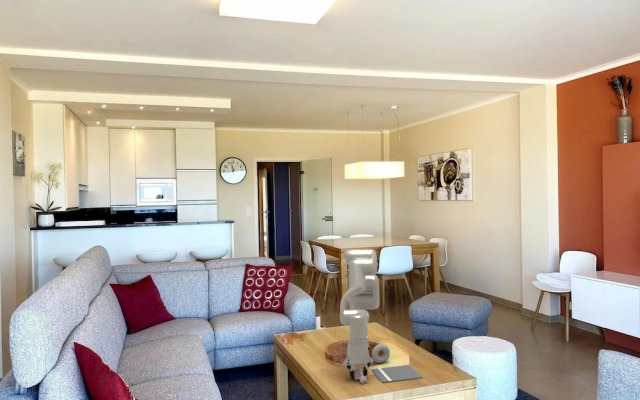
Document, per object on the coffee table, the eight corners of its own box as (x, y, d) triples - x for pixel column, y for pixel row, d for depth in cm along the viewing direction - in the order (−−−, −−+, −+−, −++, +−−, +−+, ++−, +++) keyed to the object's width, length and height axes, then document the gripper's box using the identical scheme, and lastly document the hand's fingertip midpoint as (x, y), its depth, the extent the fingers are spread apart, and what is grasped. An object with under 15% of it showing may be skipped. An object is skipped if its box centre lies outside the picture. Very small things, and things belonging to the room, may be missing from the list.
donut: (373, 365, 245) (373, 346, 245) (370, 363, 248) (370, 344, 248) (391, 362, 248) (390, 343, 248) (388, 360, 251) (387, 341, 251)
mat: (371, 370, 239) (371, 368, 239) (408, 365, 243) (408, 364, 243) (382, 383, 223) (382, 381, 223) (422, 378, 227) (422, 376, 227)
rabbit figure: (371, 386, 223) (356, 370, 236) (372, 374, 222) (356, 359, 235) (360, 389, 221) (345, 372, 234) (360, 377, 219) (345, 361, 233)
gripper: (372, 335, 234) (373, 372, 234) (338, 339, 230) (339, 376, 231) (377, 340, 226) (378, 378, 227) (342, 344, 223) (343, 382, 223)
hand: (358, 377), depth 229 cm, fingers closed on rabbit figure, 5 cm apart
